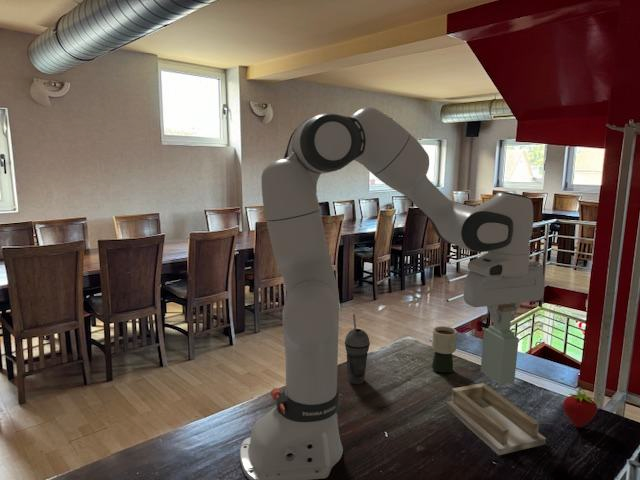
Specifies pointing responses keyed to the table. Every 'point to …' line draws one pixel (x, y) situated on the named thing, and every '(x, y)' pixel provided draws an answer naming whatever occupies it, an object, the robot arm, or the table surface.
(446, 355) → the character mug
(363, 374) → the beverage cup
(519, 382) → the table surface
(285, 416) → the robot arm
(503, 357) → the pale green flat bottle
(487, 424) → the u rest
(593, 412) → the strawberry
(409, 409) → the table surface
